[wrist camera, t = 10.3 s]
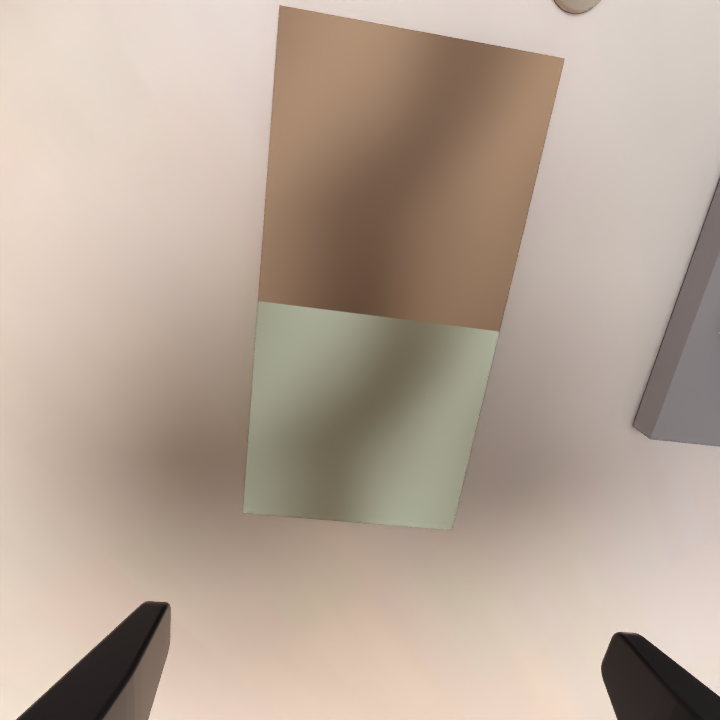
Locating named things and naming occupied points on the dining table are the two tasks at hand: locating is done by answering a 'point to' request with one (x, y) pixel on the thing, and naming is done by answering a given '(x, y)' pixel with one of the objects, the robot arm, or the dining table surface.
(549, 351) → the dining table surface
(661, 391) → the console
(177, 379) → the dining table surface
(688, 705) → the robot arm
